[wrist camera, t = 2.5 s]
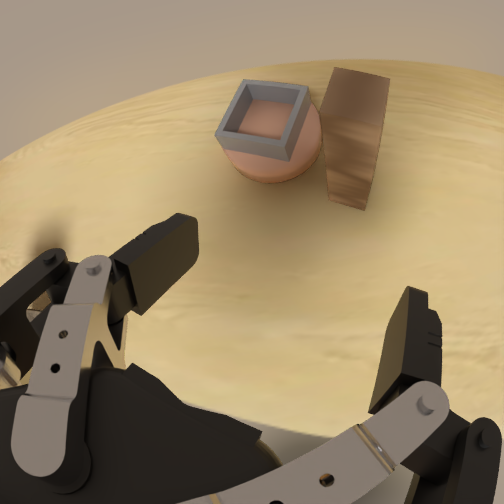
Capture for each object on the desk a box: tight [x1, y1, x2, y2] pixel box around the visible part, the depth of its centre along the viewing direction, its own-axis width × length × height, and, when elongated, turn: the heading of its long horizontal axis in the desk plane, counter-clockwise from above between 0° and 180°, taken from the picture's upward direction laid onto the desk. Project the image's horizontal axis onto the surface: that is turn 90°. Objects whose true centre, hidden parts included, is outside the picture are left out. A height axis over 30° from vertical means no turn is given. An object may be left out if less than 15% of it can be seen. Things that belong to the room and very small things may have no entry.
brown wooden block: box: [319, 67, 390, 211], centre depth 21 cm, size 4×4×13 cm
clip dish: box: [214, 79, 322, 183], centre depth 27 cm, size 10×10×6 cm
